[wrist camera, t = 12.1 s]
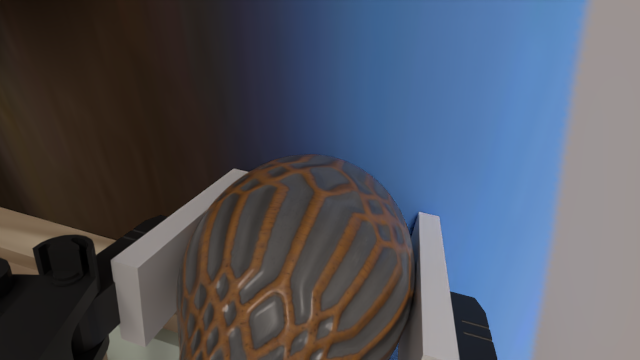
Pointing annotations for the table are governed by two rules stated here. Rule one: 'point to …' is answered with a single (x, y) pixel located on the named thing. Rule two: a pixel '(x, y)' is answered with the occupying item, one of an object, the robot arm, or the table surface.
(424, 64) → the table surface
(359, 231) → the vase
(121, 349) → the lid
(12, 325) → the robot arm
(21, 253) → the wooden box
